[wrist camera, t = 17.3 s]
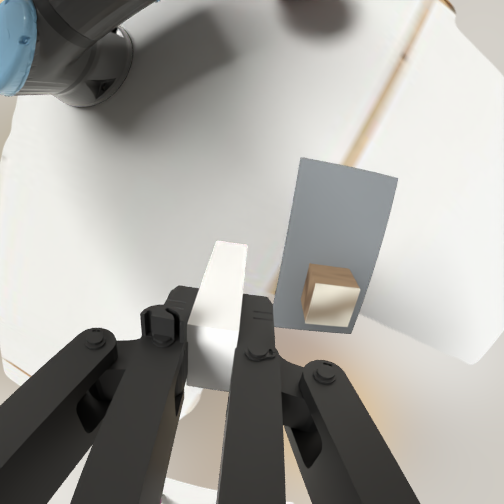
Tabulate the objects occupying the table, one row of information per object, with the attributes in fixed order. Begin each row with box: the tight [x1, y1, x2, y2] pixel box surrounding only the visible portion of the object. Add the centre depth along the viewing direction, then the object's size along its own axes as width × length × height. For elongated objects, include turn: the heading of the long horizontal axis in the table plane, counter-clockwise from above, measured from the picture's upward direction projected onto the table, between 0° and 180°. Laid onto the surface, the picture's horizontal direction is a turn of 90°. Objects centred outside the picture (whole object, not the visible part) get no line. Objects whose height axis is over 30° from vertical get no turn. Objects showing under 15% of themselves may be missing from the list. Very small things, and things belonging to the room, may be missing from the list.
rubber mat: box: [273, 158, 398, 334], centre depth 50 cm, size 30×16×1 cm, turn 172°
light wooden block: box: [301, 263, 360, 327], centre depth 48 cm, size 7×7×7 cm
